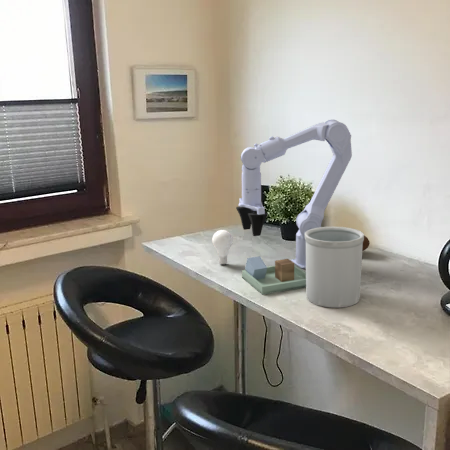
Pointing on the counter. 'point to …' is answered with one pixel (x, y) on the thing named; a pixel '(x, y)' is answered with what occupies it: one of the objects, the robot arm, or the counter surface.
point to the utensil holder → (333, 266)
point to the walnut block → (284, 270)
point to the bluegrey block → (256, 267)
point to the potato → (365, 243)
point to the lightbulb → (222, 244)
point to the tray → (276, 281)
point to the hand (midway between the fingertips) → (251, 232)
